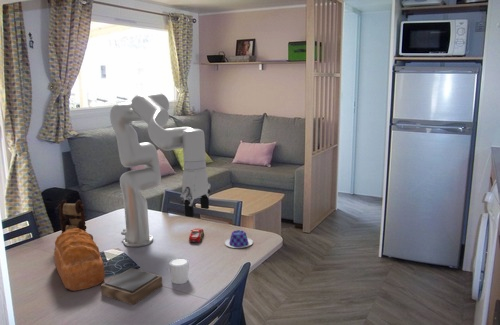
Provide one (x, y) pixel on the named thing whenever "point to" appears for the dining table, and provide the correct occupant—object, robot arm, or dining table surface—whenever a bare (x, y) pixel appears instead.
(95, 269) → the bread
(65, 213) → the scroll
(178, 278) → the shot glass
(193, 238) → the race car
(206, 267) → the dining table surface
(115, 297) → the tray
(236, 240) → the pudding
